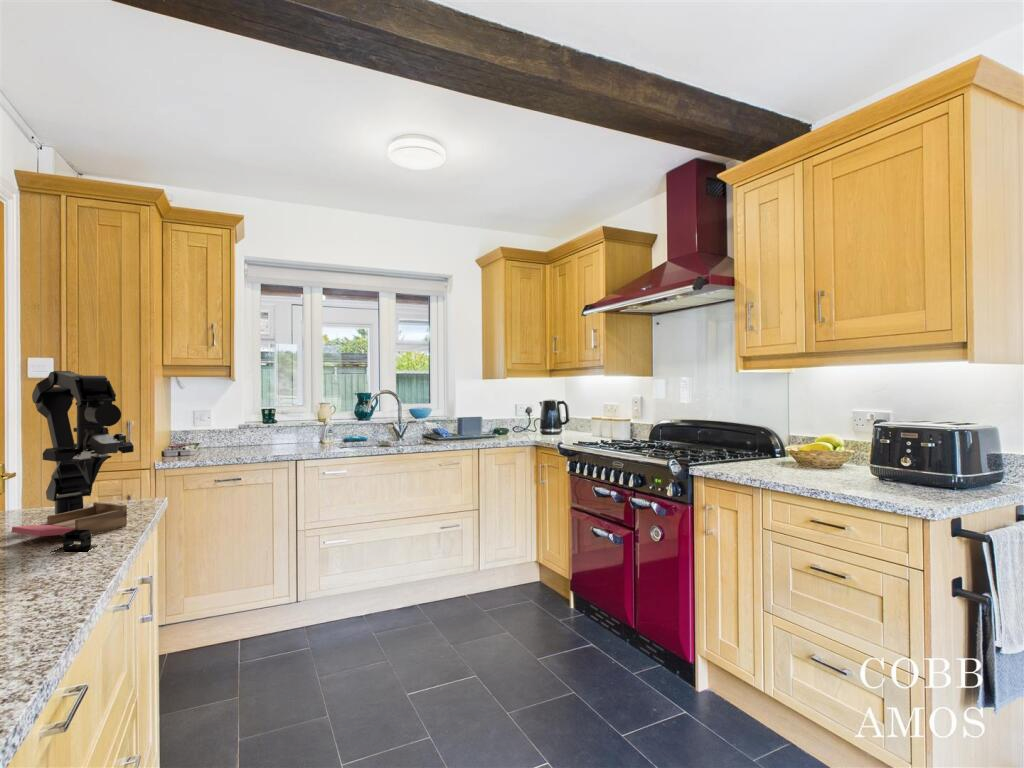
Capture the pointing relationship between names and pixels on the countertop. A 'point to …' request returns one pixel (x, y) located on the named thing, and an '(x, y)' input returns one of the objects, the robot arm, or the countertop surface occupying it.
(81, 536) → the black boxy piece
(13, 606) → the countertop surface
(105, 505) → the brown wooden drawer
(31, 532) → the panel
